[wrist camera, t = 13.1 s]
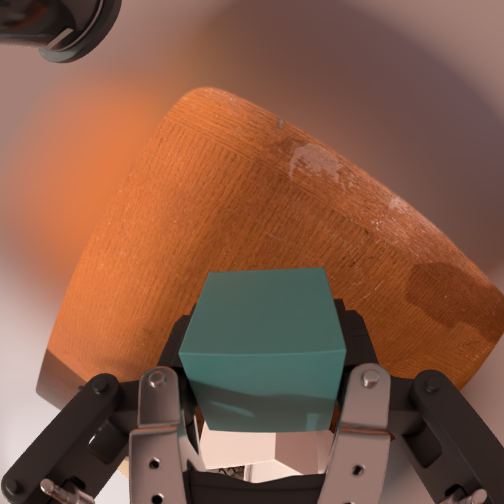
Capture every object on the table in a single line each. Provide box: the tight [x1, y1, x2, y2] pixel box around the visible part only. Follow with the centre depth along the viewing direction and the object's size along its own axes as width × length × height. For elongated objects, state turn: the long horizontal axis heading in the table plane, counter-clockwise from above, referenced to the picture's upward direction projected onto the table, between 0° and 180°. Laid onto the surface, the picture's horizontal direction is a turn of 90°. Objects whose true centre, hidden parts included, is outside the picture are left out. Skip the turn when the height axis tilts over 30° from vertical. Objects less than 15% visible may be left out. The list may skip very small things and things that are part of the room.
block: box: [179, 267, 347, 433], centre depth 10 cm, size 4×4×4 cm
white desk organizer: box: [200, 422, 334, 483], centre depth 33 cm, size 25×11×11 cm, turn 34°
